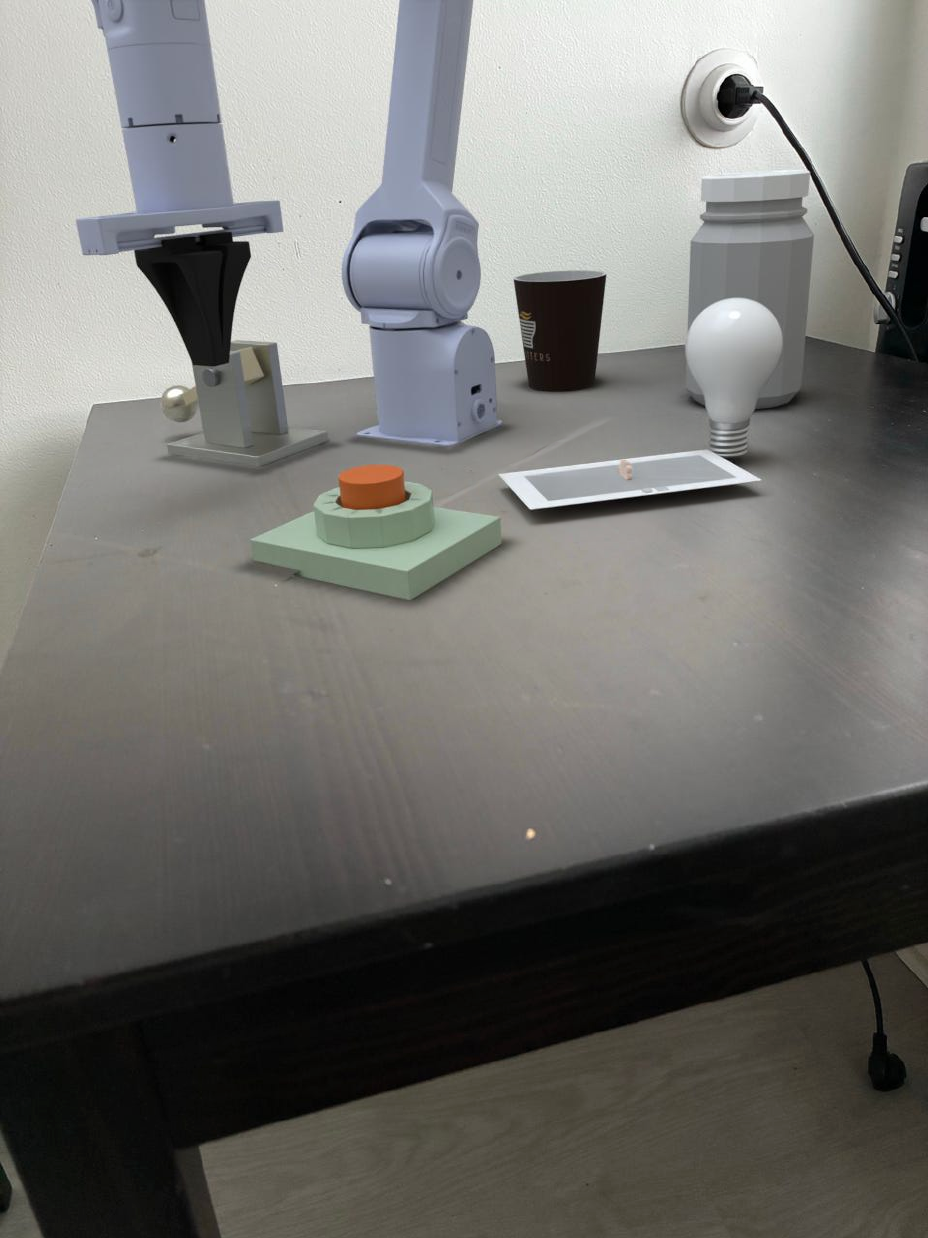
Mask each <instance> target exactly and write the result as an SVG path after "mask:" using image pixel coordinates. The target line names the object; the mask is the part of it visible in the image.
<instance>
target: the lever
mask: <svg viewBox="0 0 928 1238" xmlns="http://www.w3.org/2000/svg"><path fill="white" fill-rule="evenodd" d="M237 352H240V356H241V363H242V369H243V376H244V383H245V387H246V386H248V385H249V384H251V383H253V382H255V381H256V380H258V379H260V378H262V377H264V374H263V372H262V370H261V367H260V365H259V363H258V361H257V358H256V356H255V354H254V352H253V349H252V347H249V348H245V349H241V350H237ZM160 408H161V411H162V413H163V414H164V415H165V417H166V418H167V419H168V420H170V421H172V422H175V423H186V422H189V421H190V420H192V419H193V418H194V417H195V416H196V414H197V413H198V410H199V403H198V397H197V391H196V385H194V386H192V387H191V388H189V387H188V386H185V385H171V386H170V387H168V388H166V390H164V392H163V393H162V395H161V397H160Z"/></svg>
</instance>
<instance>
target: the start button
mask: <svg viewBox="0 0 928 1238" xmlns="http://www.w3.org/2000/svg"><path fill="white" fill-rule="evenodd" d="M404 481H405V473H404V470H403V469H402V468H401V467H399V466H396V465H390V464H366V465H361V466H360V465H359V466H354V467H352V468H348V469H345V470H343V471H342V472H341V473H339V475H338V485H339V486H338V487H340V495H341V504H342V508H347V509H353V510H371V509H381V508H386V507H391V506H396V505H399V504H401V503H403V502H405V501H406V495H405V483H404Z"/></svg>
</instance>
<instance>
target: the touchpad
mask: <svg viewBox="0 0 928 1238" xmlns="http://www.w3.org/2000/svg"><path fill="white" fill-rule="evenodd" d="M498 476H499V477H500V478H501V480H502V481H503V482H504V483H505V484H506V486H508V487H509V488H510V489H511V491H512V492H513V493H514V494H515V495H516V496H517V497H518V498H519V499H520V500H521V502H523V504H524V505H525V506H526V507H527V508H528V509H529V510H539V509H547V508H549V509H550V508H556V507H564V506H570V505H571V506H572V505H580V504H589V503H594V502H595V503H596V502H604V501H610V500H611V501H612V500H619V499H620V500H621V499H626V498H627V499H628V498H635V497H636V498H637V497H642V496H643V497H644V496H651V495H659V494H667V493H676V492H683V491H691V490H698V489H709V488H715V487H723V486H731V485H739V484H745V483H746V484H747V483H755V482H762V481H763V479H761V478H759V477H758V476H755V475H754V474H752V473H750V472H749V471H747V470H745V469H743V468H742V467H740V466H738V465H736V464H734V463H733V462H732V461H727V460H726V459H724V458H722V457H720V456H719V455H717V454H715V453H713V452H712V451H710V450H708V448H707V449H699V450H690V451H683V452H681V451H680V452H674V453H673V452H672V453H665V454H657V455H648V456H639V457H631V458H622V459H615V460H614V459H613V460H606V461H597V462H589V463H580V464H573V465H564V466H555V467H547V468H538V469H530V470H521V471H511V472H505V473H498Z"/></svg>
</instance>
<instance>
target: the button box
mask: <svg viewBox="0 0 928 1238" xmlns="http://www.w3.org/2000/svg"><path fill="white" fill-rule="evenodd" d="M404 483H405V495H406V501H405V502H403V503H401V504H399V505H396V506H391V507H386V508H381V509H371V510H353V509H347V508H342V504H341V495H340V487H339V486H337V487H334V488H332V489H330V490H328V491H325V492H322V493H321V494H319V495H318V496H317V498H316V499H315V501H314V503H313V505H312V506H313V510H312V511H310V512H308V513H305V514H303V515H301V516H299V517H297V518H295V519H292V520H290V521H288V522H286V523H284V524H281V525H280V526H277V527H275V528H272V529H270V530H268V531H266V532H263V533H262V534H259V535H257V536H255V537H253V538H252V537H251V538H250V547H251V552H252V559H253V562H258V563H264V564H268V565H273V566H278V567H282V568H287V569H292V570H296V571H297V572H294V573H293V574H291V575H293V576H298V577H301V578H306V579H312V580H316V581H320V582H324V583H329V584H333V585H338V586H343V587H347V588H352V589H356V590H361V591H366V592H370V593H375V594H380V595H382V596H383V595H384V596H388V597H393V598H398V599H401V600H407V601H412V600H413V599H415V598H417V597H419V596H420V595H421V594H423V593H425V592H426V591H428V590H429V589H432V588H433V587H434V586H436V585H438V584H439V583H441V582H442V581H445V579H447V578H449V577H450V576H452V575H453V574H455V573H457V572H458V571H460V570H462V569H463V568H466V567H467V566H468V565H470V564H472V563H473V562H474V561H476V560H478V559H479V558H481V557H482V556H484V555H486V554H487V553H490V551H492V550H494V549H495V548H497V547H499V546H500V545H502V525H501V524H502V523H501V517H500V516H495V515H489V514H482V513H476V512H470V511H464V510H457V509H451V508H444V507H438V506H434V494H433V490H432V489H430V488H428V487H426V486H425V485H423V484H421V483H420V482H412V481H406V480H404Z"/></svg>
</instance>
